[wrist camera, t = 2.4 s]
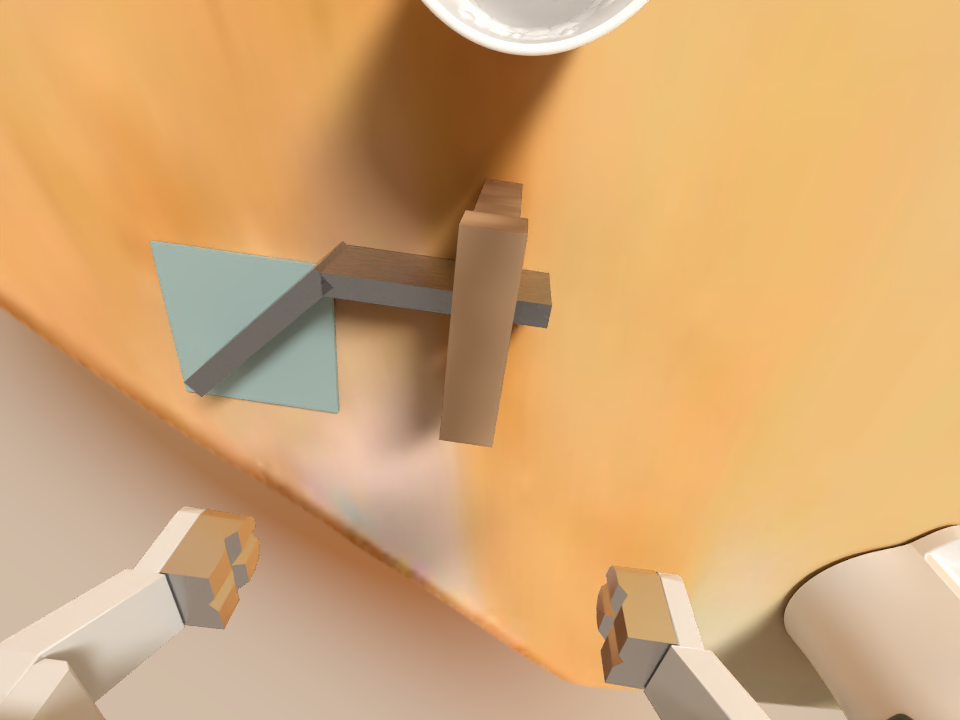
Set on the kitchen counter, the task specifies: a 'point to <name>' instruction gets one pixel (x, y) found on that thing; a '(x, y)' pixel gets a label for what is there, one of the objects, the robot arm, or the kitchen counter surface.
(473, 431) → the arch
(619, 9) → the white cup
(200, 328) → the pad
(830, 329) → the kitchen counter surface
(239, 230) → the kitchen counter surface
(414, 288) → the rail
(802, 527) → the kitchen counter surface
